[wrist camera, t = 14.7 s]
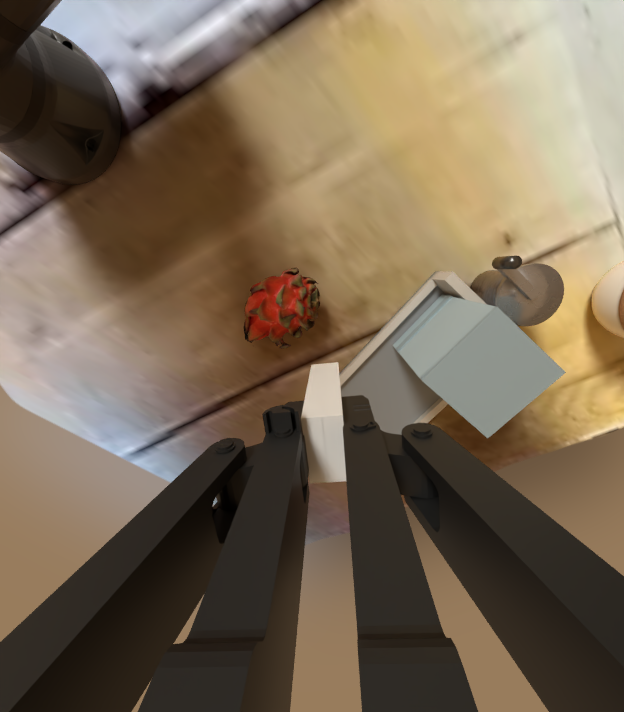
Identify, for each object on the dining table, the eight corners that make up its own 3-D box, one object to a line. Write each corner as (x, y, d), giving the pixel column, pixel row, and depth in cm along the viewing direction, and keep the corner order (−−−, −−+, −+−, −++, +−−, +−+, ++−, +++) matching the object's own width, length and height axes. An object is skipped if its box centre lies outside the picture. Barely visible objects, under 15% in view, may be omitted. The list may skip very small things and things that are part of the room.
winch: (487, 324, 42) (545, 344, 31) (441, 280, 41) (483, 285, 30) (525, 287, 41) (601, 294, 29) (479, 241, 39) (539, 229, 28)
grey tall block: (440, 387, 44) (489, 439, 30) (391, 344, 43) (420, 379, 29) (490, 340, 42) (567, 373, 28) (440, 293, 40) (496, 305, 27)
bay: (356, 480, 50) (360, 508, 44) (288, 427, 48) (283, 448, 42) (508, 340, 43) (536, 351, 37) (435, 271, 41) (452, 271, 35)
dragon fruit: (327, 280, 43) (263, 327, 47) (288, 238, 37) (219, 296, 42) (344, 321, 38) (270, 371, 42) (302, 279, 32) (221, 342, 36)
